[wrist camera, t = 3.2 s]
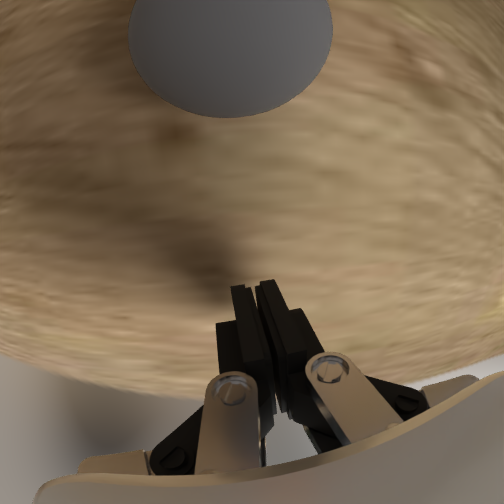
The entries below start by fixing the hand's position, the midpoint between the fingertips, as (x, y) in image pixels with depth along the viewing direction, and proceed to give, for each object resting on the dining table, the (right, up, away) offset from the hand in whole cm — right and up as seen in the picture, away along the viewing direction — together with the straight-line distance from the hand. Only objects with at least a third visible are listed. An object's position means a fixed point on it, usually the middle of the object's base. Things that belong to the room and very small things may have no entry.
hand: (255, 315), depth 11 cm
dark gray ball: (-1, +8, -5) cm, 10 cm away
